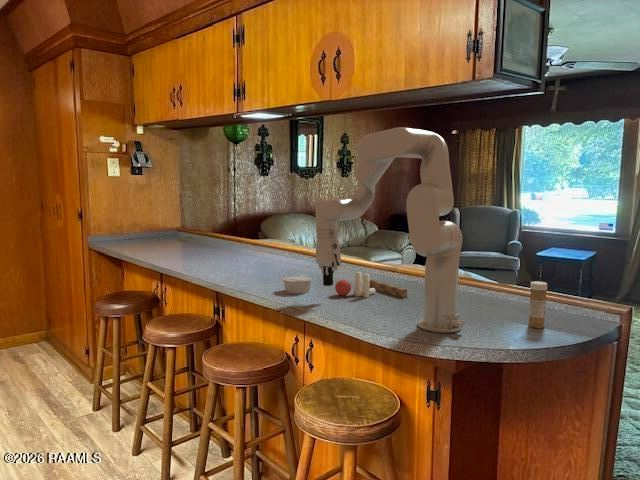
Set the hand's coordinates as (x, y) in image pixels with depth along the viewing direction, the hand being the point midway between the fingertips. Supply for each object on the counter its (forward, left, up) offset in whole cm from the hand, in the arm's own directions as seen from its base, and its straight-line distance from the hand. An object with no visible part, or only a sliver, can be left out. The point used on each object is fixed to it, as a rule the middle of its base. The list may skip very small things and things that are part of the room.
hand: (328, 285), depth 174 cm
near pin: (-1, -16, -6) cm, 17 cm away
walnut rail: (+1, -28, -6) cm, 28 cm away
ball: (+5, -10, -3) cm, 11 cm away
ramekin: (+20, +1, -6) cm, 21 cm away
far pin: (+4, -16, -6) cm, 17 cm away
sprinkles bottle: (-58, -37, -6) cm, 69 cm away
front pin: (+1, -13, -5) cm, 14 cm away
